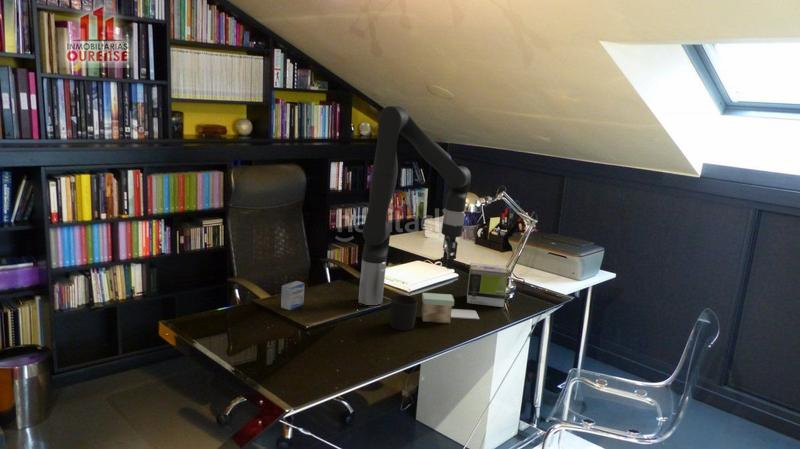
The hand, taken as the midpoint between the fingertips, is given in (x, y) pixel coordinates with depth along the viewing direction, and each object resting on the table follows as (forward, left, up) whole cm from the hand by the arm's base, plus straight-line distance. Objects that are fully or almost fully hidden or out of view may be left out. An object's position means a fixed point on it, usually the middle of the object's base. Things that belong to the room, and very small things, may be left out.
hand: (447, 265), depth 220 cm
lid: (-2, -2, -14) cm, 14 cm away
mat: (+9, +5, -21) cm, 23 cm away
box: (-2, -2, -21) cm, 21 cm away
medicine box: (-55, +2, -21) cm, 59 cm away
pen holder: (-15, -10, -21) cm, 28 cm away
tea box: (+21, +21, -21) cm, 36 cm away
